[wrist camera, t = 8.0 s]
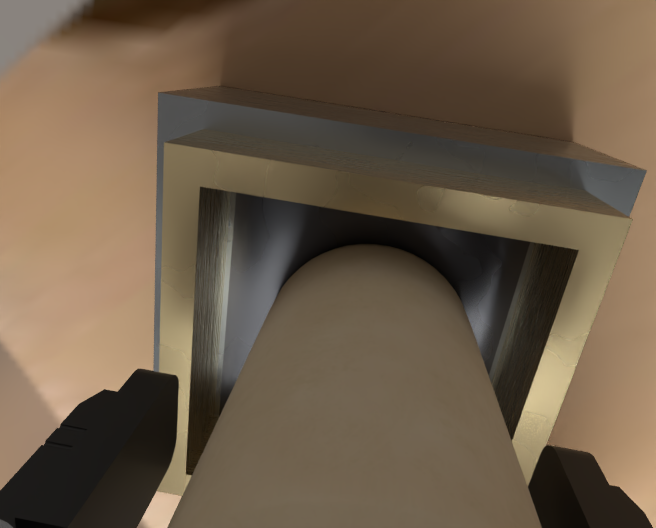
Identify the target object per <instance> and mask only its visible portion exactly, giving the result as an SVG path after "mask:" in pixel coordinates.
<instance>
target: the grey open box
mask: <svg viewBox="0 0 656 528" xmlns="http://www.w3.org/2000/svg"><path fill="white" fill-rule="evenodd" d="M645 174H646V170H644V169H641V168H639V167H636V166H634V165H631V164H629V163H626V162H623V161H621V160H618V159H616V158H613V157H611V156H608V155H606V154H603V153H601V152H598V151H595V150H593V149H590V148H588V147H585V146H583V145H580V144H578V143H575V142H571V141H564V140H558V139H552V138H545V137H539V136H533V135H526V134H520V133H514V132H507V131H501V130H495V129H489V128H482V127H476V126H470V125H463V124H457V123H451V122H444V121H438V120H432V119H425V118H419V117H413V116H406V115H400V114H394V113H387V112H381V111H375V110H368V109H362V108H356V107H350V106H343V105H337V104H331V103H324V102H318V101H312V100H305V99H299V98H293V97H286V96H280V95H274V94H267V93H261V92H255V91H248V90H242V89H236V88H230V87H223V86H213V87H204V88H195V89H186V90H177V91H168V92H159V93H158V138H157V198H156V258H155V318H154V371H156V372H161V373H167V374H172V375H176V376H177V377H178V380H179V394H178V420H177V440H176V446H175V450H174V454H173V458H172V461H171V463H170V466H169V468H168V470H167V472H166V474H165V476H164V478H163V480H162V482H161V483H160V485H159V487H158V489H157V491H159V492H164V493H169V494H175V495H180V496H183V493H184V491H185V489H186V487H187V485H188V483H189V481H190V479H191V476H192V474H193V472H194V470H195V468H196V466H197V464H198V462H199V459H200V457H201V455H202V453H203V451H204V449H205V447H206V444H207V442H208V440H209V438H210V436H211V434H212V432H213V430H214V427H215V425H216V423H217V421H218V419H219V417H220V415H221V412H222V410H223V408H224V406H225V404H226V402H227V400H228V398H229V395H230V393H231V391H232V389H233V387H234V385H235V383H236V381H237V378H238V376H239V374H240V372H241V370H242V368H243V366H244V363H245V361H246V359H247V357H248V355H249V353H250V351H251V349H252V346H253V344H254V342H255V340H256V338H257V336H258V334H259V331H260V329H261V327H262V325H263V323H264V321H265V319H266V317H267V314H268V312H269V310H270V308H271V307H272V305H273V303H274V301H275V299H276V297H277V295H278V294H279V292H280V290H281V288H282V287H283V286H284V284H285V283H286V282H287V280H288V279H289V278H290V277H291V276H292V275H293V274H294V273H295V272H296V271H297V270H298V269H299V268H300V267H302V266H303V265H304V264H306V263H307V262H308V261H310V260H311V259H313V258H315V257H317V256H318V255H320V254H322V253H325V252H327V251H330V250H332V249H335V248H339V247H343V246H347V245H356V244H378V245H385V246H390V247H394V248H398V249H401V250H404V251H406V252H409V253H411V254H414V255H415V256H417V257H419V258H421V259H423V260H424V261H426V262H427V263H429V264H430V265H431V266H433V267H434V268H435V269H436V270H437V271H438V272H439V273H440V274H441V275H442V276H444V277H445V279H446V280H447V281H448V282H449V283H450V285H451V286H452V287H453V289H454V290H455V291H456V293H457V295H458V296H459V298H460V300H461V302H462V304H463V307H464V309H465V312H466V314H467V317H468V319H469V322H470V324H471V327H472V330H473V332H474V335H475V338H476V341H477V344H478V347H479V350H480V352H481V355H482V358H483V361H484V364H485V367H486V370H487V372H488V375H489V378H490V381H491V384H492V387H493V390H494V392H495V395H496V398H497V401H498V404H499V407H500V410H501V412H502V415H503V418H504V421H505V424H506V427H507V429H508V432H509V435H510V438H511V441H512V444H513V447H514V449H515V452H516V455H517V458H518V461H519V464H520V467H521V469H522V472H523V475H524V478H525V481H526V484H527V487H528V485H529V482H530V480H531V477H532V475H533V472H534V469H535V467H536V464H537V461H538V459H539V456H540V454H541V452H542V450H543V448H544V447H545V446H546V444H547V441H548V439H549V436H550V434H551V431H552V428H553V426H554V423H555V421H556V418H557V415H558V413H559V410H560V408H561V405H562V402H563V400H564V397H565V395H566V392H567V389H568V387H569V384H570V382H571V379H572V376H573V374H574V371H575V369H576V366H577V363H578V361H579V358H580V355H581V353H582V350H583V348H584V345H585V342H586V340H587V337H588V335H589V332H590V329H591V327H592V324H593V322H594V319H595V316H596V314H597V311H598V309H599V306H600V303H601V301H602V298H603V296H604V293H605V290H606V288H607V285H608V283H609V280H610V277H611V275H612V272H613V270H614V267H615V264H616V262H617V259H618V257H619V254H620V251H621V249H622V246H623V244H624V241H625V238H626V236H627V233H628V230H629V228H630V225H631V223H632V220H633V219H631V218H630V217H629V216H630V213H631V211H632V208H633V205H634V203H635V200H636V197H637V195H638V192H639V190H640V187H641V184H642V182H643V179H644V176H645Z"/></svg>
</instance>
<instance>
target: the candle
mask: <svg viewBox="0 0 656 528" xmlns="http://www.w3.org/2000/svg"><path fill="white" fill-rule="evenodd" d="M168 528H542V526H541V524H540V521H539V518H538V515H537V512H536V509H535V507H534V504H533V501H532V498H531V495H530V492H529V489H528V487H527V484H526V481H525V478H524V475H523V472H522V469H521V467H520V464H519V461H518V458H517V455H516V452H515V449H514V447H513V444H512V441H511V438H510V435H509V432H508V429H507V427H506V424H505V421H504V418H503V415H502V412H501V410H500V407H499V404H498V401H497V398H496V395H495V392H494V390H493V387H492V384H491V381H490V378H489V375H488V372H487V370H486V367H485V364H484V361H483V358H482V355H481V352H480V350H479V347H478V344H477V341H476V338H475V335H474V332H473V330H472V327H471V324H470V322H469V319H468V317H467V314H466V312H465V309H464V307H463V304H462V302H461V300H460V298H459V296H458V295H457V293H456V291H455V290H454V289H453V287H452V286H451V285H450V283H449V282H448V281H447V280H446V279H445V277H444V276H442V275H441V274H440V273H439V272H438V271H437V270H436V269H435V268H434V267H433V266H431V265H430V264H429V263H427V262H426V261H424V260H423V259H421V258H419V257H417V256H415V255H414V254H411V253H409V252H406V251H404V250H401V249H398V248H394V247H390V246H385V245H378V244H356V245H347V246H343V247H339V248H335V249H332V250H330V251H327V252H325V253H322V254H320V255H318V256H317V257H315V258H313V259H311V260H310V261H308V262H307V263H306V264H304V265H303V266H302V267H300V268H299V269H298V270H297V271H296V272H295V273H294V274H293V275H292V276H291V277H290V278H289V279H288V280H287V282H286V283H285V284H284V286H283V287H282V288H281V290H280V292H279V294H278V295H277V297H276V299H275V301H274V303H273V305H272V307H271V308H270V310H269V312H268V314H267V317H266V319H265V321H264V323H263V325H262V327H261V329H260V331H259V334H258V336H257V338H256V340H255V342H254V344H253V346H252V349H251V351H250V353H249V355H248V357H247V359H246V361H245V363H244V366H243V368H242V370H241V372H240V374H239V376H238V378H237V381H236V383H235V385H234V387H233V389H232V391H231V393H230V395H229V398H228V400H227V402H226V404H225V406H224V408H223V410H222V412H221V415H220V417H219V419H218V421H217V423H216V425H215V427H214V430H213V432H212V434H211V436H210V438H209V440H208V442H207V444H206V447H205V449H204V451H203V453H202V455H201V457H200V459H199V462H198V464H197V466H196V468H195V470H194V472H193V474H192V476H191V479H190V481H189V483H188V485H187V487H186V489H185V491H184V493H183V496H182V498H181V500H180V502H179V504H178V506H177V508H176V511H175V513H174V515H173V517H172V519H171V521H170V523H169V525H168Z"/></svg>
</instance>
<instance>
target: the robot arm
mask: <svg viewBox="0 0 656 528" xmlns="http://www.w3.org/2000/svg"><path fill="white" fill-rule="evenodd" d="M178 394H179V380H178V377H177V376H176V375H172V374H167V373H161V372H156V371H150V370H145V369H137V370H136V371H135V372H134V373H133V374H132V375H131V376H130V378H129V379H128V380H127V381H126V382H125V384H124V385H123V386H122V387H121V389H120V390H119V391H118V392H115V391H110V390H105V389H104V390H103V391H101V392H99V393H97V394H96V395H94V396H92V397H90V398H89V399H87V400H85V401H83V402H82V403H80V404H79V405H78V406H77V407H76V408H75V409H74V410H73V411H72V412H71V413H70V414H69V416H68V417H67V418H66V419H65V420H64V421H63V422H62V423H61V426H60V428H57V429H56V430H55V431H54V432H53V433H52V434H51V435H50V437H49V438H48V439H47V440H46V442H45V444H44V446H43V445H41V446H40V448H39V449H38V450H37V451H36V452H35V453H34V454H33V455H32V456H31V458H30V459H29V460H28V461H27V462H26V463H25V464H24V465H23V466H22V467H21V468H20V470H19V471H18V472H17V473H16V474H15V475H14V476H13V477H12V478H11V479H10V481H9V482H8V483H7V484H6V485H5V486H4V487H3V488H2V489H1V490H0V528H137V526H138V524H139V522H140V521H141V519H142V517H143V515H144V513H145V511H146V509H147V508H148V506H149V504H150V502H151V500H152V498H153V496H154V495H155V493H156V491H157V489H158V487H159V485H160V483H161V482H162V480H163V478H164V476H165V474H166V472H167V470H168V468H169V466H170V463H171V461H172V458H173V454H174V450H175V446H176V440H177V420H178ZM528 489H529V492H530V495H531V498H532V501H533V504H534V507H535V509H536V512H537V515H538V518H539V521H540V524H541V526H542V528H653V527H652V525H651V523H650V522H649V520H648V518H647V517H646V515H645V513H644V512H643V511H642V510H641V509H640V508H639V507H638V506H637V505H636V504H635V503H634V502H633V501H632V500H631V499H630V498H629V497H628V496H627V495H626V494H625V493H624V492H623V491H622V490H621V489H620V488H619V487H616V486H611V485H609V484H608V482H607V480H606V478H605V476H604V474H603V472H602V471H601V469H600V467H599V465H598V463H597V461H596V460H595V458H594V456H593V455H592V454H590V453H588V452H583V451H578V450H572V449H567V448H561V447H556V446H551V445H547V446H545V447H544V448H543V450H542V452H541V454H540V456H539V459H538V461H537V464H536V467H535V469H534V472H533V475H532V477H531V480H530V482H529V485H528Z"/></svg>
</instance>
